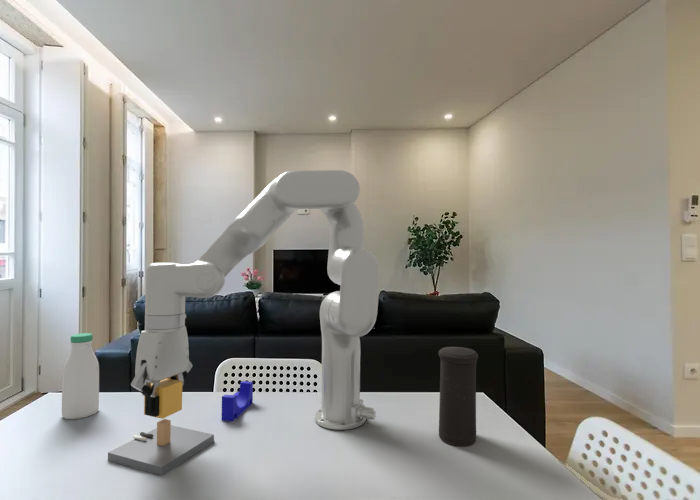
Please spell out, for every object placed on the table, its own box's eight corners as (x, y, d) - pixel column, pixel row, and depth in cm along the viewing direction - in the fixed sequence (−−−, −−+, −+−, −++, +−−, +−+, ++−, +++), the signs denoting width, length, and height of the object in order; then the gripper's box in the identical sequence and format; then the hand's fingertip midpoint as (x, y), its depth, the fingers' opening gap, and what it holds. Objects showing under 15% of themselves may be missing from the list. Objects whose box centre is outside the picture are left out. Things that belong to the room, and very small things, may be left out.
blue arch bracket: (237, 402, 108) (237, 380, 108) (252, 403, 107) (252, 381, 107) (215, 420, 96) (216, 396, 96) (233, 422, 95) (233, 397, 95)
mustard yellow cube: (181, 409, 82) (182, 381, 82) (162, 418, 78) (163, 388, 78) (163, 406, 84) (164, 378, 84) (144, 414, 79) (144, 385, 79)
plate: (214, 441, 85) (214, 413, 85) (161, 475, 72) (162, 442, 72) (163, 430, 90) (163, 404, 90) (106, 459, 77) (106, 429, 77)
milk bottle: (104, 412, 100) (105, 333, 100) (70, 422, 93) (71, 339, 94) (89, 405, 104) (91, 330, 104) (55, 415, 98) (57, 335, 98)
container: (480, 433, 90) (480, 346, 90) (474, 451, 82) (475, 355, 82) (442, 426, 93) (442, 342, 94) (433, 442, 85) (434, 350, 86)
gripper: (182, 315, 90) (180, 394, 90) (114, 327, 74) (112, 423, 74) (208, 317, 88) (206, 398, 87) (143, 330, 72) (141, 430, 72)
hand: (163, 409), depth 81 cm, fingers closed on mustard yellow cube, 5 cm apart
